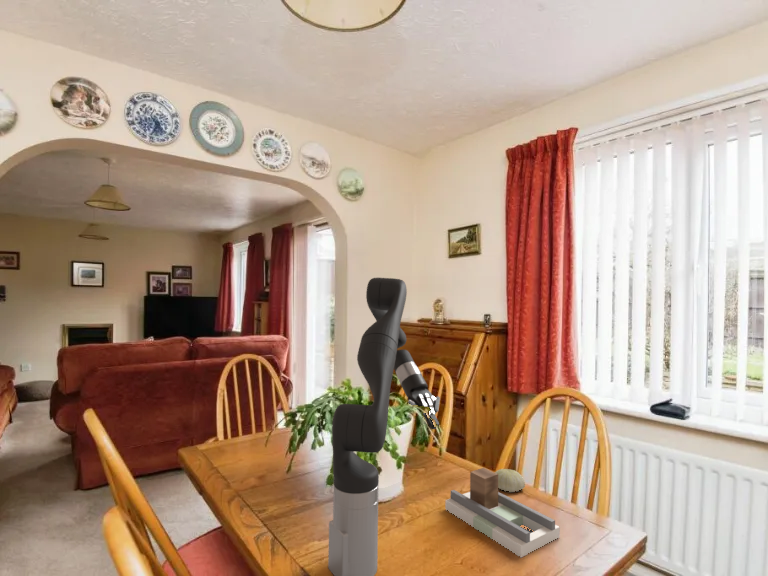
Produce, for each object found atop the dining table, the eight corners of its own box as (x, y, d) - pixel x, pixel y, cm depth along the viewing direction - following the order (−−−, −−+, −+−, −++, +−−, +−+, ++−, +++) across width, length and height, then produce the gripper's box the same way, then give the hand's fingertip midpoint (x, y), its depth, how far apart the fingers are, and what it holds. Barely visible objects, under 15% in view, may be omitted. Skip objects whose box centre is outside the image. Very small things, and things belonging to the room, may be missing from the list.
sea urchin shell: (494, 471, 130) (512, 456, 127) (512, 493, 127) (531, 479, 124) (485, 481, 122) (504, 466, 119) (504, 506, 119) (524, 491, 116)
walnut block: (484, 511, 104) (484, 478, 104) (470, 502, 108) (470, 471, 108) (498, 505, 107) (498, 474, 107) (483, 497, 111) (483, 467, 111)
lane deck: (520, 557, 89) (521, 536, 89) (445, 509, 109) (445, 492, 109) (559, 537, 97) (559, 518, 97) (482, 496, 117) (482, 480, 117)
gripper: (399, 374, 128) (424, 424, 118) (432, 370, 136) (458, 417, 125) (389, 388, 133) (412, 438, 122) (421, 384, 140) (446, 430, 129)
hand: (435, 427), depth 124 cm, fingers closed
